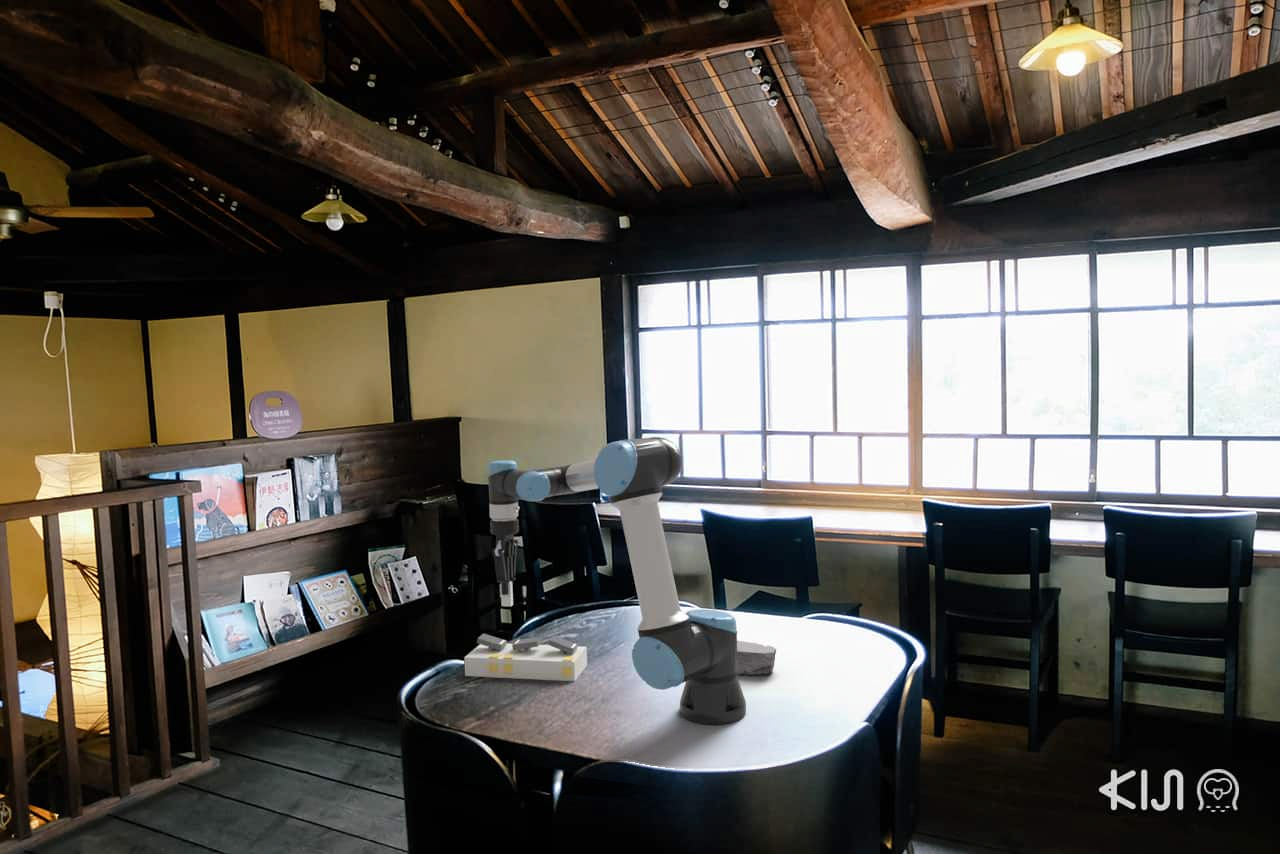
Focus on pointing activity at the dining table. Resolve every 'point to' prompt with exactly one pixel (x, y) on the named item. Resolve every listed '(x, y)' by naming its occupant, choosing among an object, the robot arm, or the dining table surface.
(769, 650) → the decorative stone
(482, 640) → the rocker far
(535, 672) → the switch console
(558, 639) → the rocker near
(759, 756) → the dining table surface
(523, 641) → the rocker middle
